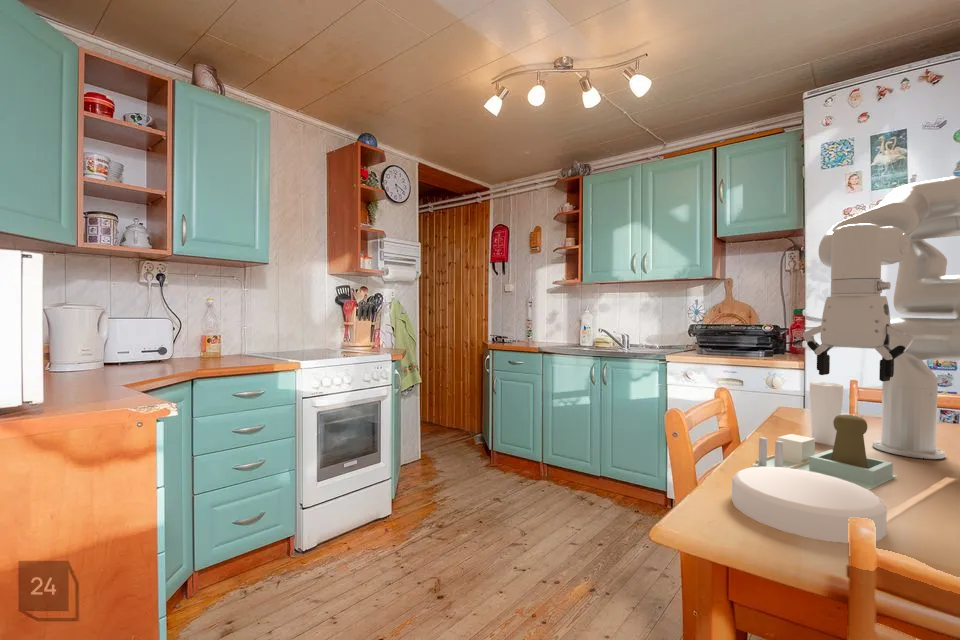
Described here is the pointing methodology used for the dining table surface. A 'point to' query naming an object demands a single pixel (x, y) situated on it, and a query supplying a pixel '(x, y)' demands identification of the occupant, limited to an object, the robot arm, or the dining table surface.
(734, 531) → the dining table surface
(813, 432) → the drinking glass
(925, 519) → the dining table surface
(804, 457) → the block
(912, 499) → the dining table surface
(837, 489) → the container
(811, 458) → the base
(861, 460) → the olive tapered round-topped piece
